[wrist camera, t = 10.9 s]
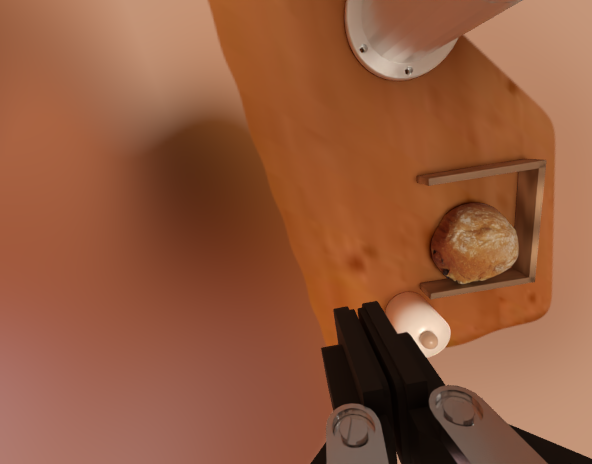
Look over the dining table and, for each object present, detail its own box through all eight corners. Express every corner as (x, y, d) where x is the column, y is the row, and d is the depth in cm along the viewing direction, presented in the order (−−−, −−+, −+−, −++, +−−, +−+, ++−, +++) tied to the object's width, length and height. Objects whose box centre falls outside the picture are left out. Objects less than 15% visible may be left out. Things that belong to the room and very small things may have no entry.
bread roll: (487, 234, 44) (548, 230, 36) (461, 296, 42) (520, 304, 34) (440, 195, 42) (494, 181, 34) (410, 257, 39) (460, 257, 32)
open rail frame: (416, 175, 37) (428, 178, 34) (525, 158, 37) (546, 160, 34) (420, 288, 42) (430, 299, 39) (517, 272, 42) (534, 281, 39)
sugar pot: (384, 295, 42) (407, 328, 34) (426, 288, 42) (458, 319, 34) (386, 332, 43) (408, 370, 36) (427, 325, 43) (457, 362, 36)
